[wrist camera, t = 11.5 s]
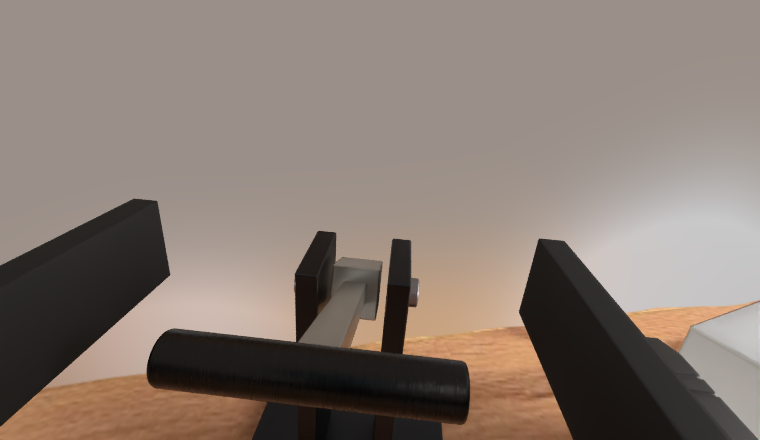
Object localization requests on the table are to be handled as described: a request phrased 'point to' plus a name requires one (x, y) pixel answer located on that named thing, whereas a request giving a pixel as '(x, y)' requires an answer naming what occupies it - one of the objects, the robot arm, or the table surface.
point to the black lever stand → (376, 432)
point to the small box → (730, 360)
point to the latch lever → (317, 362)
